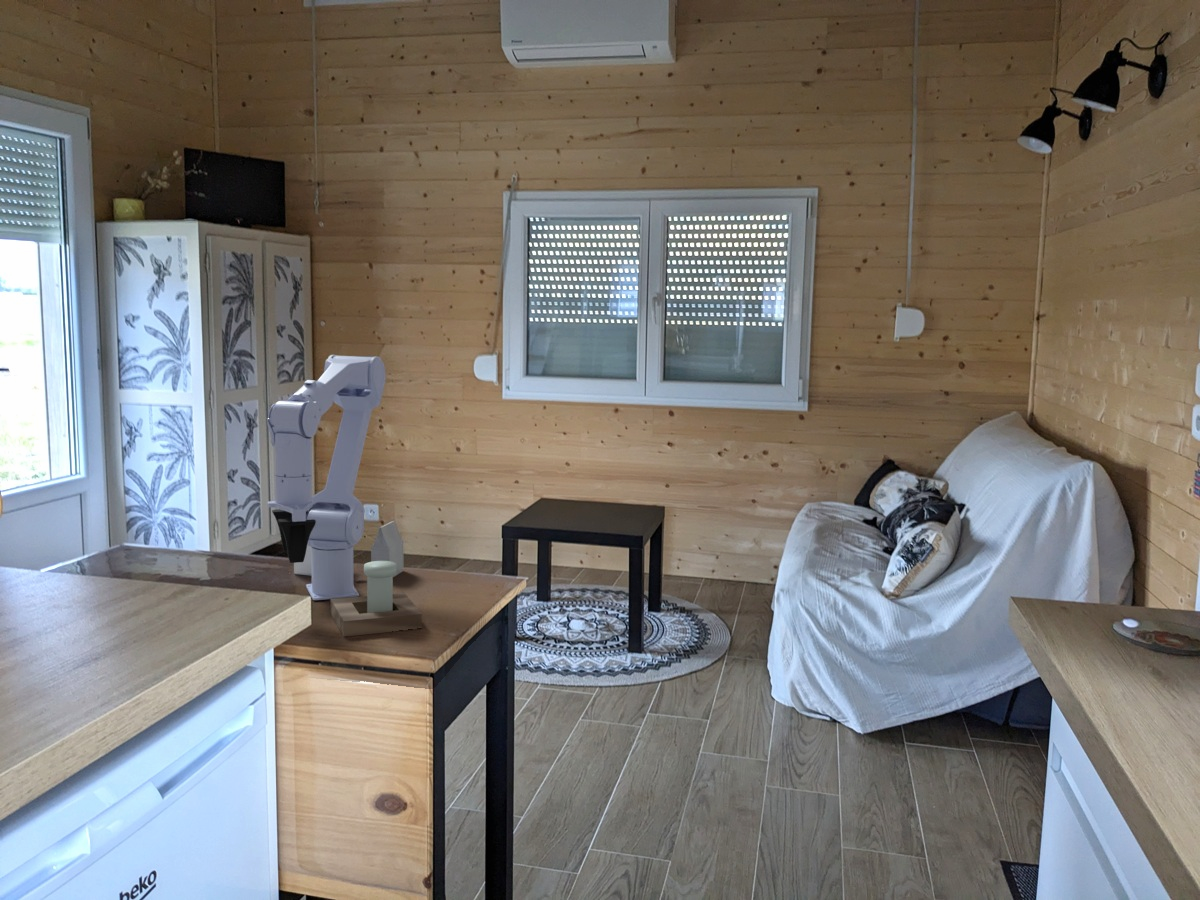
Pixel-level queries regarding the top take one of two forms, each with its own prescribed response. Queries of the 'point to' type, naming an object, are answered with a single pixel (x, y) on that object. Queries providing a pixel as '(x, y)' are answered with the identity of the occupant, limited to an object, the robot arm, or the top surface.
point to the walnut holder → (374, 616)
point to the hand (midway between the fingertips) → (293, 556)
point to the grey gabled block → (388, 546)
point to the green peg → (379, 585)
